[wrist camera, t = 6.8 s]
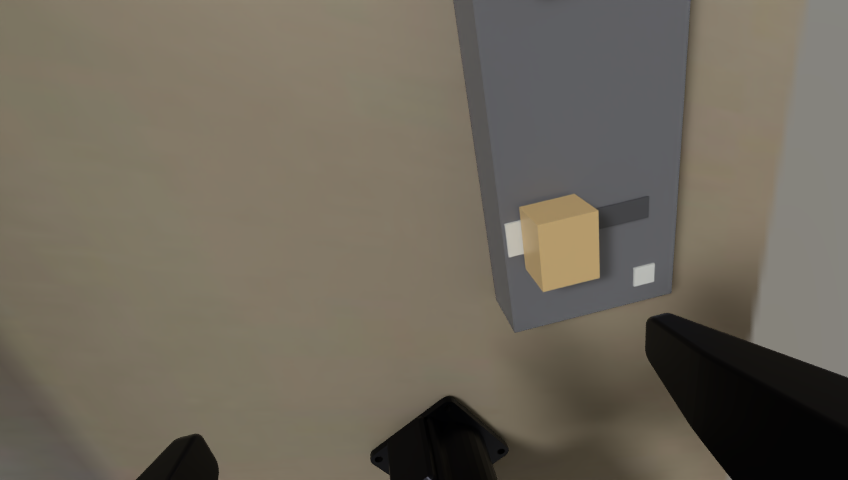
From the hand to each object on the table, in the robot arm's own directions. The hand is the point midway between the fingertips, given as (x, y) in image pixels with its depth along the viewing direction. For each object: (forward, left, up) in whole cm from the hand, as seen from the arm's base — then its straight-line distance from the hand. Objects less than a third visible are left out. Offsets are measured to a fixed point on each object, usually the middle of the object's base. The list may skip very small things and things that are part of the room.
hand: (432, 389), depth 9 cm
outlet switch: (-5, -4, -10) cm, 12 cm away
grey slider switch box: (-1, -9, -13) cm, 16 cm away
